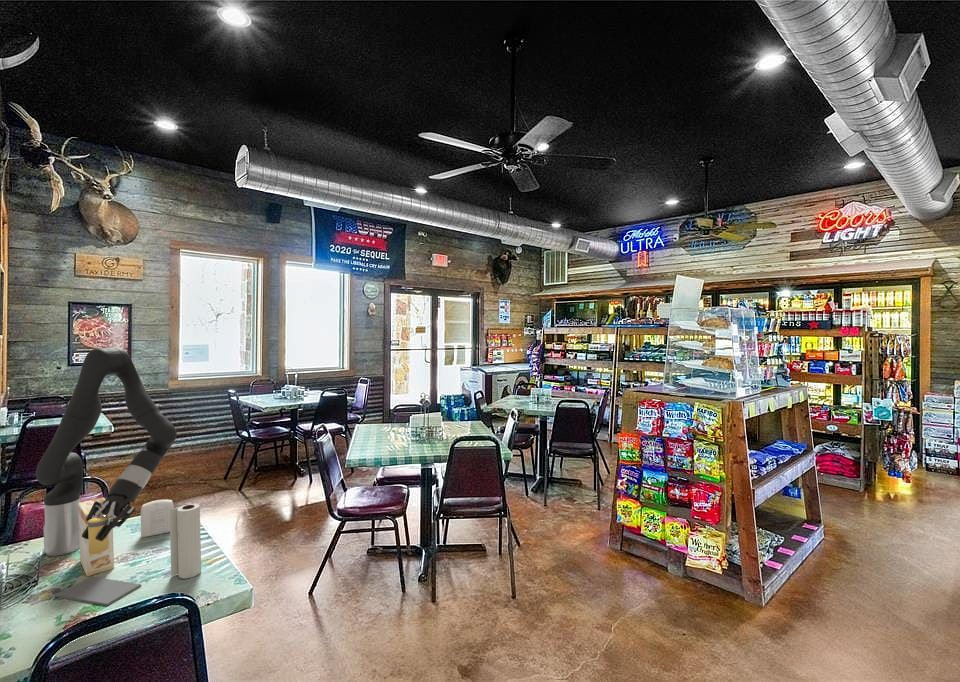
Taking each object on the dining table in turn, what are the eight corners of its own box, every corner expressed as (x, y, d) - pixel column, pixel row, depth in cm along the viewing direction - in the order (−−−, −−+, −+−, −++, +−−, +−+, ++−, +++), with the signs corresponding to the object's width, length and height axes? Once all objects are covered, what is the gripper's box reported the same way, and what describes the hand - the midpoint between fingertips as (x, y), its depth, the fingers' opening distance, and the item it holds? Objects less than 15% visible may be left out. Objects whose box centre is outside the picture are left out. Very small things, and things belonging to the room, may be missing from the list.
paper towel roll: (205, 570, 148) (204, 504, 147) (188, 580, 142) (186, 511, 141) (188, 567, 150) (187, 501, 149) (171, 576, 144) (169, 508, 144)
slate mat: (55, 596, 134) (54, 594, 134) (91, 578, 144) (91, 576, 144) (107, 605, 129) (107, 603, 129) (141, 586, 139) (141, 584, 139)
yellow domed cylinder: (84, 552, 134) (83, 521, 134) (100, 545, 139) (99, 515, 138) (97, 554, 133) (96, 523, 133) (113, 546, 138) (112, 516, 137)
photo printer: (174, 527, 179) (173, 496, 179) (174, 532, 176) (173, 499, 175) (141, 534, 174) (140, 501, 173) (140, 538, 170) (139, 505, 170)
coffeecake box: (115, 568, 149) (113, 508, 149) (86, 577, 144) (84, 514, 144) (106, 552, 160) (104, 496, 159) (79, 560, 154) (77, 502, 154)
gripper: (103, 476, 144) (62, 531, 133) (141, 479, 141) (101, 536, 130) (121, 487, 150) (82, 541, 138) (157, 490, 146) (120, 546, 135)
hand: (91, 538), depth 134 cm, fingers closed on yellow domed cylinder, 4 cm apart
